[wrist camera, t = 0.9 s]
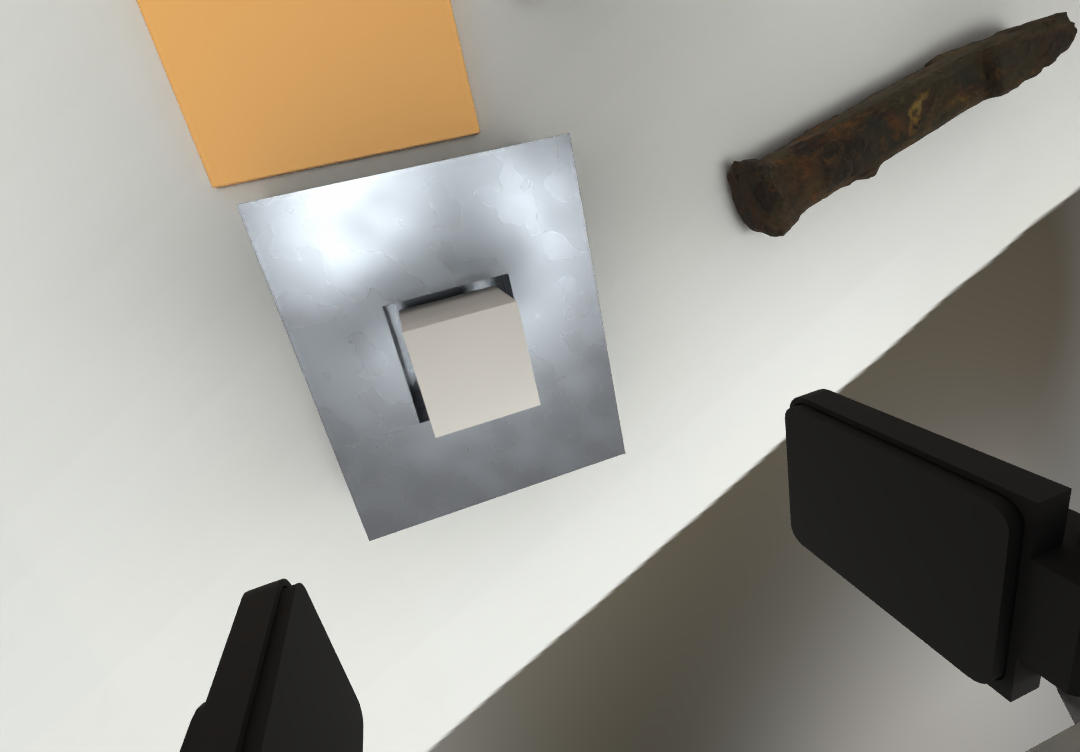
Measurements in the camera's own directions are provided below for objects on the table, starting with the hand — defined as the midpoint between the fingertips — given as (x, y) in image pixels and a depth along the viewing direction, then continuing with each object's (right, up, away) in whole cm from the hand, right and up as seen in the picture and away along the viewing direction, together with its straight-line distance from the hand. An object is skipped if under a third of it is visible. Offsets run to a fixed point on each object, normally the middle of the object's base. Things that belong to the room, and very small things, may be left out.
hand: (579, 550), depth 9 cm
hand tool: (+17, +18, +20) cm, 32 cm away
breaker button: (-4, +4, +13) cm, 14 cm away
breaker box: (-5, +6, +17) cm, 18 cm away
